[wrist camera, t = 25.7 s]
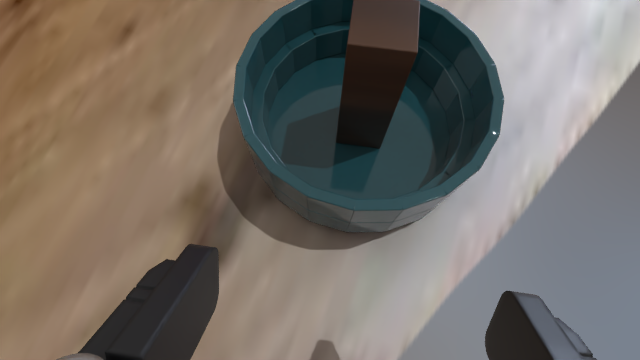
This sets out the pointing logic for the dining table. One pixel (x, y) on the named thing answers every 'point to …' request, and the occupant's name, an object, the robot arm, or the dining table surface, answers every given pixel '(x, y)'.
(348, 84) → the brown rectangular block
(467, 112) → the bowl
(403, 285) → the dining table surface
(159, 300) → the robot arm
